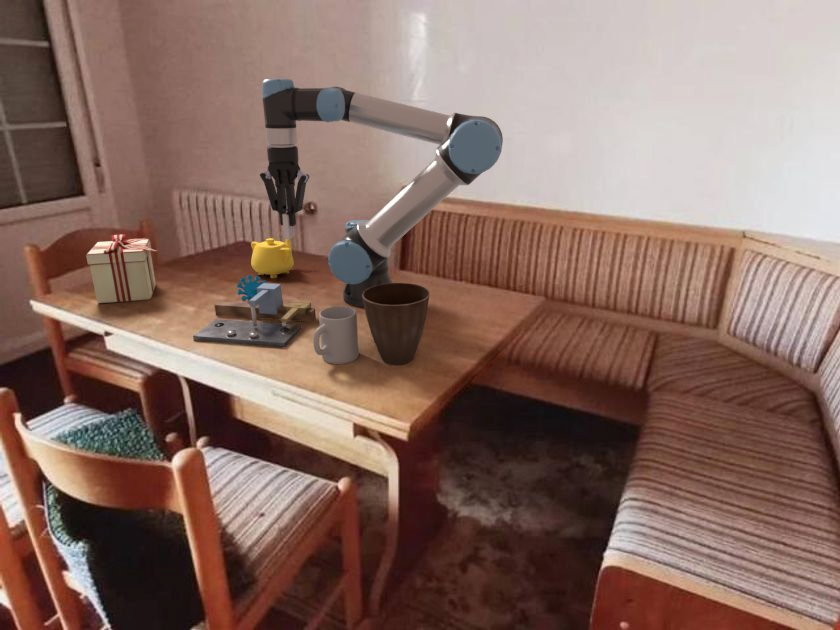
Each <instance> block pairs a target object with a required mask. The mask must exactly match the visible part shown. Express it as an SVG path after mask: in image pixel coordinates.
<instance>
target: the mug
mask: <svg viewBox="0 0 840 630" xmlns="http://www.w3.org/2000/svg"><path fill="white" fill-rule="evenodd" d="M318 317H319V320H318V321H319V326H318V327H317V328H316V329H315V330H314V332H313V342H312V343H313V348H314V352H315V353H316V354H317V355H318V356H321V358H322V360H324V361H325V362H326V363H329V364H333V365H345V364H348V363H351V362H354V361H355V360H357V359H358V357H359V354H360V353H359V352H360V351H359V339H358V338H359V335H358V334H359V333H358V317H357V311H356V309H355V308H353V307H350V306H346V305H345V306H344V305H336V306H330V307H326V308H324V309H322V310H320V311H319V316H318ZM320 345H321V347H320Z"/></svg>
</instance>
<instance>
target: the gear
mask: <svg viewBox="0 0 840 630" xmlns="http://www.w3.org/2000/svg"><path fill="white" fill-rule="evenodd" d="M246 277H247V281H246ZM252 279H253V275H251V274H248V275H247V276H244V277H241V278H240V280H239V282H238V284H236V287H237V288H239V289H238V290H237V292H236V293H237V295H242V296H241V300H242V302H245V301H246V300H247V301H249V300H250V299H252V298H253V297H254V296H255V295H257V287H259V286H260V285H261V284H263V283H268V282H267V280H266V279H265V280H264V279H263V281H262V282H261V281H260V280H261V277H260V276H259V275H256V276H255V278H254V280H253V281H252ZM259 281H260V282H259ZM243 285H244V286H243ZM247 304H249V302H247Z"/></svg>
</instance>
